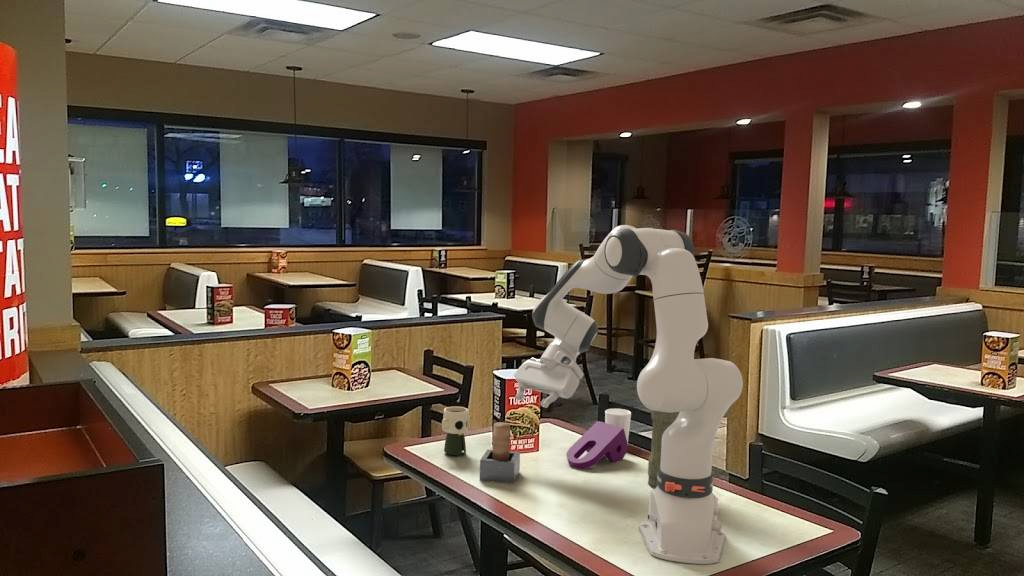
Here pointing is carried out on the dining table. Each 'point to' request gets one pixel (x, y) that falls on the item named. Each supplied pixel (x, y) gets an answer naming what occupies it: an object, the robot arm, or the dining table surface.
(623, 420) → the white cup
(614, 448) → the mounting bracket
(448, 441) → the character mug
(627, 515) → the dining table surface
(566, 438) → the dining table surface
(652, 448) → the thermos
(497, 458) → the walnut post
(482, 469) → the metal well
